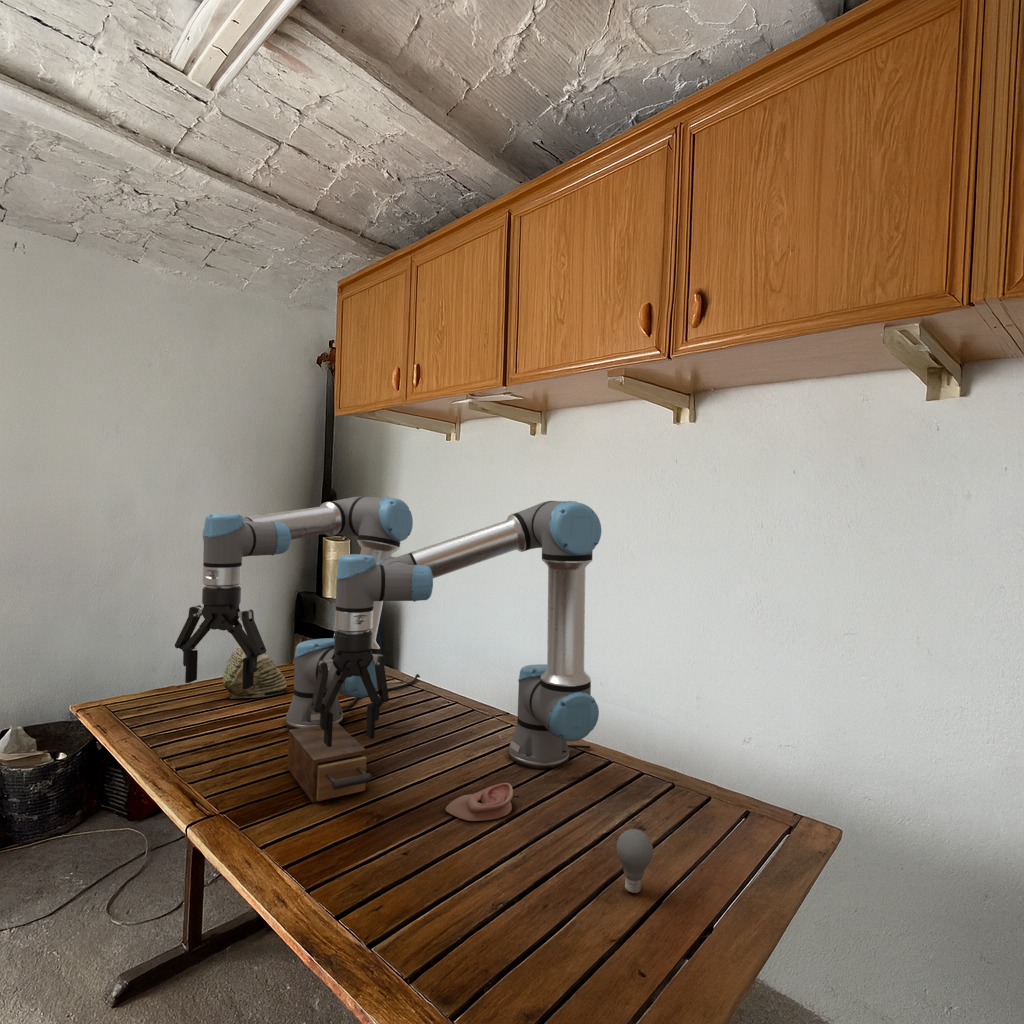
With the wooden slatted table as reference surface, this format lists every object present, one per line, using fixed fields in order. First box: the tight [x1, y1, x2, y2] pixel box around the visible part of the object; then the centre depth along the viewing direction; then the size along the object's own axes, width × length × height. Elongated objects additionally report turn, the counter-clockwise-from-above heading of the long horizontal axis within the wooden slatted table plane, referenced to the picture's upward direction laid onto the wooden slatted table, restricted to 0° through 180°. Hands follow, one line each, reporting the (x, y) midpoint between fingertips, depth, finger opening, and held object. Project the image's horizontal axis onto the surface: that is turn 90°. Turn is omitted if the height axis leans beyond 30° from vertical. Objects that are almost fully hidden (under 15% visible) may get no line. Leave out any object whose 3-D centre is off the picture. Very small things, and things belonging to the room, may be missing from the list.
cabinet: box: [287, 722, 367, 803], centre depth 142 cm, size 19×11×9 cm, turn 34°
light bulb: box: [615, 828, 654, 894], centre depth 106 cm, size 6×6×10 cm
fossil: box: [222, 646, 288, 699], centre depth 198 cm, size 9×18×15 cm, turn 132°
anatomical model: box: [444, 782, 514, 822], centre depth 131 cm, size 13×4×12 cm
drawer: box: [316, 756, 372, 802], centre depth 137 cm, size 24×10×7 cm, turn 34°
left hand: (219, 684), depth 136 cm, fingers open, 13 cm apart
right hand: (349, 740), depth 130 cm, fingers open, 8 cm apart
